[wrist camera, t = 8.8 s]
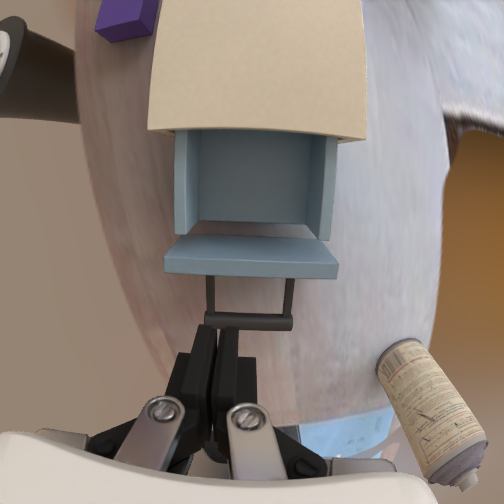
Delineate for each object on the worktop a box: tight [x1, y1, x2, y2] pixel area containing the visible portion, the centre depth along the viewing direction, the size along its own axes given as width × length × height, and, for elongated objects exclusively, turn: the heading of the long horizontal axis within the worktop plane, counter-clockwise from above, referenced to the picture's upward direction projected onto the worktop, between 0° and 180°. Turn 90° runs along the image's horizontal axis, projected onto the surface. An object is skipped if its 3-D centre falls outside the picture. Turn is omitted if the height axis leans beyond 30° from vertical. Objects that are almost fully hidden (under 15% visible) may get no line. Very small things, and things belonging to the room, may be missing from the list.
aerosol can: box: [376, 338, 488, 493], centre depth 20 cm, size 7×7×20 cm
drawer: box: [163, 129, 339, 331], centre depth 20 cm, size 20×12×6 cm, turn 178°
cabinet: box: [147, 0, 367, 144], centre depth 16 cm, size 16×13×8 cm
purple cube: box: [95, 0, 158, 43], centre depth 16 cm, size 4×4×4 cm
